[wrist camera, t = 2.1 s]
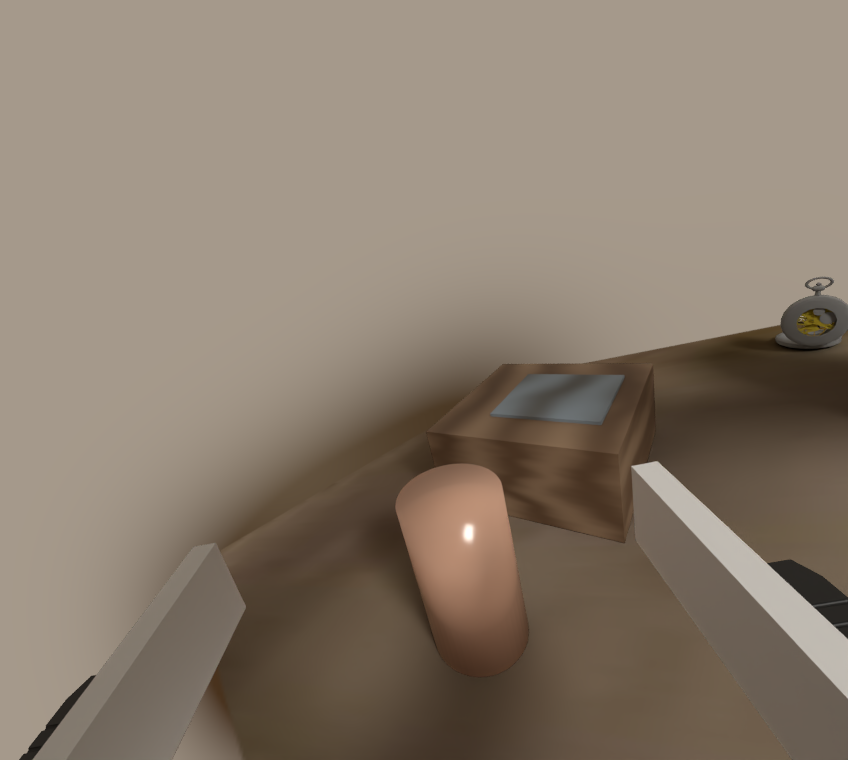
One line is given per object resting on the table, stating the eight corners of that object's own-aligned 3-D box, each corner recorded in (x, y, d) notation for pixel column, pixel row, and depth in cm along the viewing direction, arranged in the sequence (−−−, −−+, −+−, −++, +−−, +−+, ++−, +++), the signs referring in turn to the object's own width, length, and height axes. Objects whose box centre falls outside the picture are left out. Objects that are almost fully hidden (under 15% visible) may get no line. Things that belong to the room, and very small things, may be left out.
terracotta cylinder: (542, 607, 28) (519, 472, 24) (504, 697, 23) (469, 545, 19) (463, 577, 31) (433, 457, 28) (416, 649, 27) (373, 516, 23)
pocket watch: (809, 333, 59) (815, 264, 56) (870, 347, 51) (882, 267, 48) (752, 345, 59) (755, 277, 56) (804, 361, 51) (811, 283, 48)
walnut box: (655, 430, 44) (652, 360, 42) (624, 543, 31) (617, 450, 28) (512, 419, 54) (502, 361, 52) (442, 499, 41) (425, 428, 39)
